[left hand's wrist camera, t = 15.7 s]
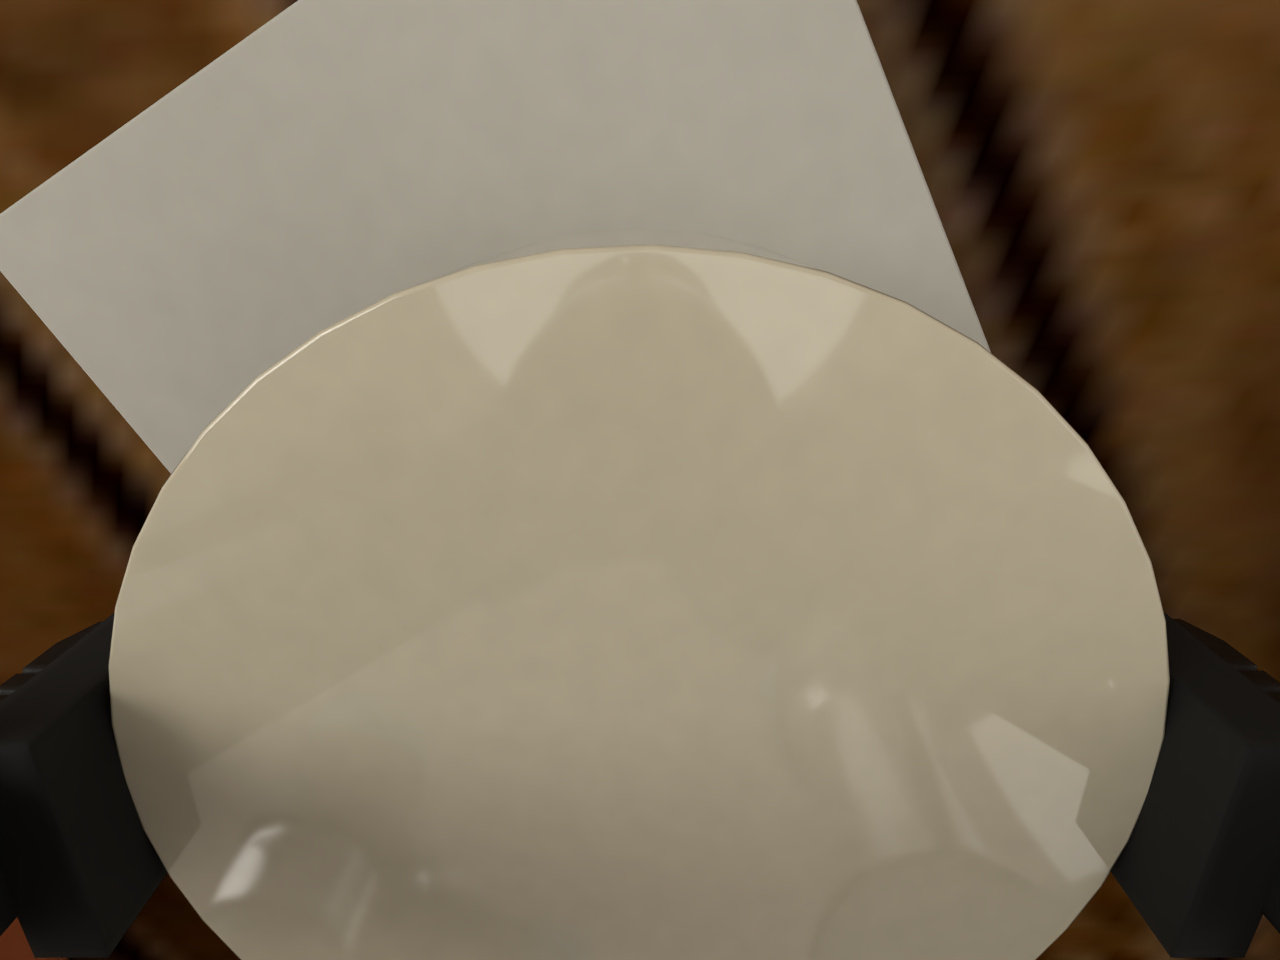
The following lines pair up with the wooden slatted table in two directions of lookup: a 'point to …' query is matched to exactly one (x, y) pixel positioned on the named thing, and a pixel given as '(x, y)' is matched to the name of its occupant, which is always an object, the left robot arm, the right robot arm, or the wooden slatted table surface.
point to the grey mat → (460, 175)
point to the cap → (639, 629)
